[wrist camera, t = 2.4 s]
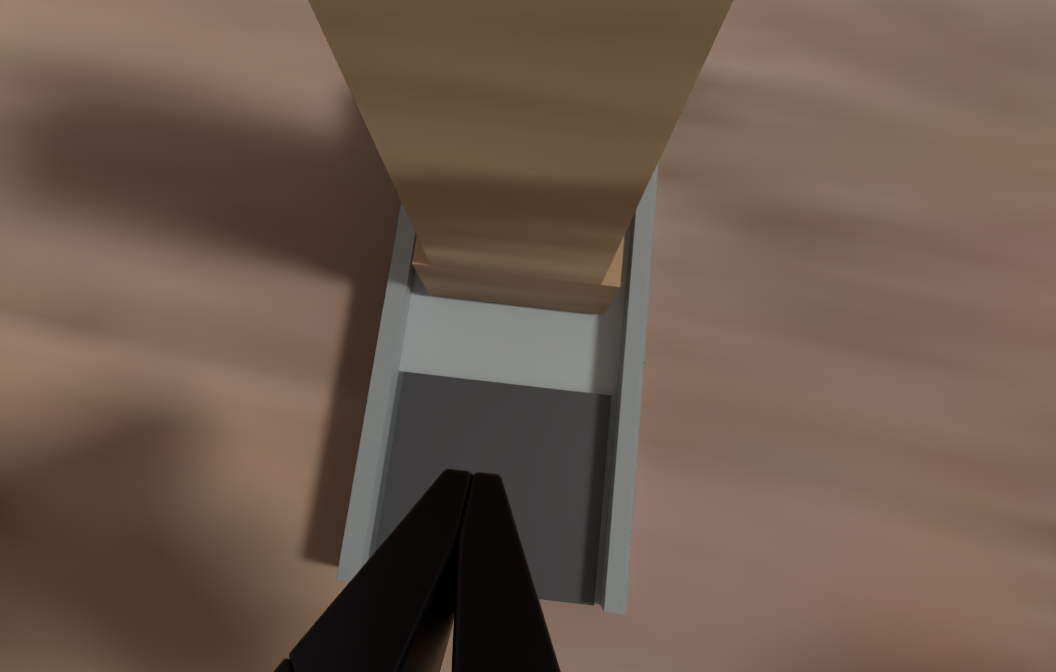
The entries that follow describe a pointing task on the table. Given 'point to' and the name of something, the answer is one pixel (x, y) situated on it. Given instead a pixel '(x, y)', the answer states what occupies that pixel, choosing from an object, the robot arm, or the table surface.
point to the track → (512, 418)
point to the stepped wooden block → (521, 130)
